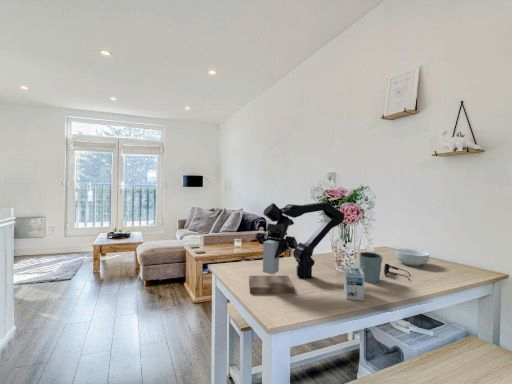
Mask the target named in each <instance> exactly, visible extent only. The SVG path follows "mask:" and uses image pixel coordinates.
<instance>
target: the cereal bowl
mask: <svg viewBox="0 0 512 384" xmlns="http://www.w3.org/2000/svg"><path fill="white" fill-rule="evenodd" d="M394 254H395V258H396V260H398V261H399V262H401V263H403V264H404V265H407V266H411V267H420V266H421V265H425V264H427V263H428V262H429V260H430V253H429V252H427V251H424V250H423V251H422V250H419V249H413V248H398V249H397V248H396V249H395V250H394Z"/></svg>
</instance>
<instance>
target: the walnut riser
mask: <svg viewBox="0 0 512 384" xmlns="http://www.w3.org/2000/svg"><path fill="white" fill-rule="evenodd" d="M291 280H292V279H291V278H290V276H289V275H249V276H248V284H249V285H248V286H249V294H295V286H294V284H293V283H292V281H291Z"/></svg>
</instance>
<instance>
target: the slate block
mask: <svg viewBox="0 0 512 384" xmlns="http://www.w3.org/2000/svg"><path fill="white" fill-rule="evenodd" d="M262 245H263V246H262V248H263V249H262V251H263V252H262V253H263V254H262V256H263V257H262V273H265V274H270V275H275V274H276V273H278V272H279V269H280V256H278V257H277V258H276V259H275V254H276V252H277V249H278V247H279V241H273V240H268V241H265V242H263V244H262Z"/></svg>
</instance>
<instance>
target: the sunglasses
mask: <svg viewBox="0 0 512 384" xmlns="http://www.w3.org/2000/svg"><path fill="white" fill-rule="evenodd" d="M390 269H392V270H393V269H394V270H397V271H399V270H400V271H403V272H405V273H407V274H408V275H409V276H407V275H403V274H400V273H397V272H393V271H390ZM383 271H384V272H383V274H384V276H385V277H387V274H389V275H393V276H401V277H405V278H407V279H408V281H411V279H410V278H411V273H410V272H409V271H408V270H404V269H402V268H400V267H396V266H392V265H390V263H385V264H384V268H383Z"/></svg>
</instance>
